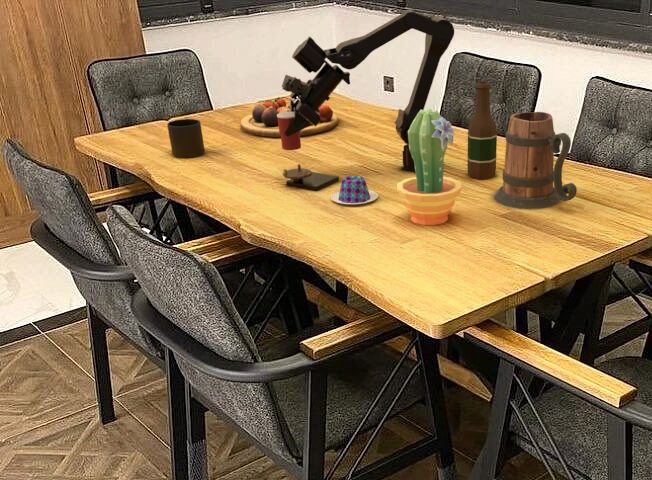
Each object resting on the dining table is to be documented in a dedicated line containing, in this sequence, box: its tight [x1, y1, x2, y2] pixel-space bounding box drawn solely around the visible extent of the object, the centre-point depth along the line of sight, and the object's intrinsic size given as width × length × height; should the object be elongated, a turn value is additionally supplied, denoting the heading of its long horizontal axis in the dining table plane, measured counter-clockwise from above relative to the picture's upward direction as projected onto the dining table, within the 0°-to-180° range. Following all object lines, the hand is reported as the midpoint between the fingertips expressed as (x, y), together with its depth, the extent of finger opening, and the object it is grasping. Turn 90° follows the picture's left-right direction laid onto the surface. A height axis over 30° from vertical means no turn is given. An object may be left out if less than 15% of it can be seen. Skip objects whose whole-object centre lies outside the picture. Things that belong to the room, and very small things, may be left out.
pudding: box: [330, 175, 379, 205], centre depth 210 cm, size 12×12×5 cm
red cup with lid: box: [277, 112, 302, 151], centre depth 219 cm, size 6×6×9 cm
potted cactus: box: [396, 108, 462, 226], centre depth 192 cm, size 15×15×25 cm
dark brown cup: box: [166, 118, 206, 159], centre depth 247 cm, size 9×12×9 cm
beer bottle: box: [467, 81, 498, 180], centre depth 220 cm, size 8×8×24 cm
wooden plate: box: [239, 96, 339, 138], centre depth 273 cm, size 32×32×8 cm
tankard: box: [493, 111, 578, 210], centre depth 203 cm, size 24×17×20 cm
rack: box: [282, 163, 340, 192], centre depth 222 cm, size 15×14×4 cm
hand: (284, 132), depth 219 cm, fingers closed on red cup with lid, 5 cm apart
